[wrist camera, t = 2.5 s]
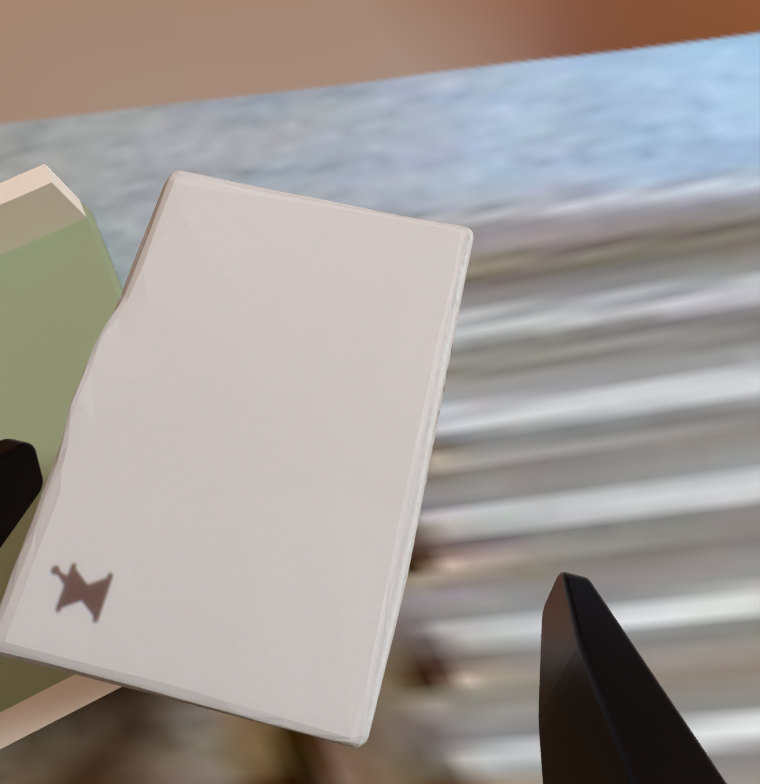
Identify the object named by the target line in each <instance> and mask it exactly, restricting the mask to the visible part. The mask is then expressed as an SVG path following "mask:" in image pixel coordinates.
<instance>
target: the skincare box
mask: <svg viewBox="0 0 760 784" xmlns="http://www.w3.org/2000/svg"><path fill="white" fill-rule="evenodd" d="M472 243H473V232H472V231H471V230H470V229H469V228H467V227H463V226H458V225H452V224H445V223H439V222H433V221H428V220H422V219H417V218H411V217H406V216H401V215H395V214H390V213H384V212H379V211H375V210H370V209H365V208H360V207H356V206H351V205H346V204H341V203H336V202H332V201H327V200H322V199H317V198H312V197H307V196H302V195H297V194H292V193H287V192H282V191H277V190H272V189H267V188H262V187H257V186H252V185H247V184H242V183H238V182H233V181H228V180H223V179H218V178H214V177H209V176H205V175H201V174H196V173H192V172H188V171H182V170H179V171H175V172H174V173H172V174H171V175H170V177H169V178H168V180H167V181H166V183H165V184H164V187H163V189H162V192H161V194H160V197H159V199H158V202H157V205H156V207H155V210H154V212H153V215H152V217H151V220H150V222H149V225H148V227H147V230H146V232H145V235H144V237H143V240H142V242H141V245H140V247H139V250H138V252H137V255H136V257H135V260H134V263H133V265H132V268H131V270H130V273H129V275H128V278H127V281H126V283H125V286H124V289H123V291H122V294H121V297H120V299H119V301H118V304H117V306H116V308H115V310H114V312H113V313H112V315H111V317H110V319H109V320H108V322H107V323H106V325H105V326H104V328H103V330H102V332H101V333H100V335H99V337H98V339H97V341H96V343H95V345H94V347H93V350H92V352H91V355H90V357H89V359H88V362H87V365H86V367H85V369H84V371H83V374H82V376H81V378H80V380H79V383H78V385H77V388H76V390H75V393H74V396H73V398H72V401H71V404H70V407H69V410H68V414H67V419H66V425H65V430H64V434H63V438H62V441H61V445H60V448H59V451H58V454H57V456H56V459H55V461H54V464H53V467H52V469H51V472H50V474H49V477H48V479H47V482H46V484H45V487H44V489H43V492H42V495H41V498H40V501H39V504H38V507H37V510H36V512H35V515H34V518H33V521H32V523H31V525H30V528H29V530H28V533H27V535H26V538H25V540H24V543H23V545H22V548H21V550H20V553H19V556H18V558H17V561H16V563H15V566H14V568H13V571H12V574H11V576H10V579H9V582H8V584H7V587H6V589H5V592H4V595H3V597H2V600H1V603H0V656H2V657H6V658H10V659H14V660H19V661H23V662H27V663H31V664H35V665H39V666H43V667H47V668H51V669H55V670H59V671H63V672H67V673H71V674H75V675H79V676H83V677H87V678H91V679H95V680H99V681H103V682H106V683H110V684H114V685H118V686H122V687H126V688H130V689H134V690H138V691H141V692H145V693H149V694H153V695H157V696H161V697H165V698H169V699H173V700H176V701H180V702H184V703H188V704H192V705H196V706H199V707H203V708H207V709H211V710H215V711H219V712H222V713H226V714H230V715H234V716H238V717H241V718H245V719H249V720H253V721H257V722H261V723H264V724H268V725H272V726H276V727H279V728H283V729H287V730H291V731H294V732H298V733H302V734H306V735H309V736H313V737H317V738H320V739H324V740H328V741H332V742H335V743H339V744H344V745H348V746H352V747H359V746H361V745H362V744H364V743H366V741H367V739H368V737H369V733H370V729H371V725H372V721H373V717H374V712H375V708H376V704H377V700H378V696H379V692H380V688H381V684H382V680H383V676H384V671H385V667H386V663H387V659H388V655H389V651H390V647H391V643H392V639H393V635H394V631H395V626H396V622H397V618H398V614H399V609H400V605H401V601H402V597H403V592H404V588H405V584H406V580H407V576H408V570H409V565H410V560H411V555H412V550H413V546H414V540H415V534H416V529H417V525H418V521H419V516H420V509H421V504H422V499H423V494H424V490H425V485H426V480H427V475H428V469H429V464H430V459H431V454H432V449H433V444H434V439H435V434H436V429H437V424H438V418H439V413H440V408H441V403H442V397H443V392H444V388H445V382H446V377H447V372H448V367H449V361H450V356H451V350H452V345H453V340H454V335H455V329H456V324H457V319H458V314H459V308H460V303H461V298H462V293H463V287H464V282H465V277H466V272H467V267H468V263H469V258H470V253H471V249H472Z"/></svg>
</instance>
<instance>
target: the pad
mask: <svg viewBox="0 0 760 784" xmlns="http://www.w3.org/2000/svg"><path fill="white" fill-rule="evenodd" d="M122 291H123V290H122V287H121V285H120V282H119V280H118V277H117V275H116V272H115V270H114V267H113V265H112V262H111V260H110V257H109V255H108V252H107V250H106V247H105V244H104V242H103V239H102V237H101V234H100V232H99V229H98V227H97V224H96V222H95V219H94V217H93V214H92V212H91V211H90V210H89V209H88V208H87V207H86V206H85V205H84V204H83V203H82V202H81V201H80V200H79V199H78V198H77V197H76V196H75V195H74V194H73V193H72V192H71V191H70V190H69V188H68V187H67V186H66V185H65V184H64V183H63V182H62V181H61V180H60V179H59V178H58V177H57V176H56V175H55V174H54V173H53V172H52V171H51V170H50V169H49V168H48V167H47V166H46V165H45V164H44V165H41V166H39V167H37V168H34V169H32V170H30V171H27V172H25V173H23V174H20V175H18V176H16V177H13V178H11V179H9V180H6V181H4V182H2V183H0V440H3V439H15V440H20V441H24V442H28V443H30V444H32V445H33V446H34V448H35V450H36V453H37V457H38V461H39V465H40V469H41V473H42V477H43V485H42V488H41V491H40V493H39V494H38V496H37V497H36V499H35V500H34V501H33V503H32V504H31V506H30V507H29V509H28V510H27V511H26V513H25V514H24V516H23V517H22V518H21V520H20V521H19V523H18V524H17V525H16V527H15V528H14V530H13V531H12V532H11V534H10V535H9V537H8V538H7V540H6V541H5V542H4V544H3V545H2V547H1V548H0V603H1V600H2V597H3V595H4V592H5V589H6V587H7V584H8V582H9V579H10V576H11V574H12V571H13V568H14V566H15V563H16V561H17V558H18V556H19V553H20V550H21V548H22V545H23V543H24V540H25V538H26V535H27V533H28V530H29V528H30V525H31V523H32V521H33V518H34V515H35V512H36V510H37V507H38V504H39V501H40V498H41V495H42V492H43V489H44V487H45V484H46V482H47V479H48V477H49V474H50V472H51V469H52V467H53V464H54V461H55V459H56V456H57V454H58V451H59V448H60V445H61V441H62V438H63V434H64V430H65V425H66V419H67V414H68V410H69V407H70V404H71V401H72V398H73V396H74V393H75V390H76V388H77V385H78V383H79V380H80V378H81V376H82V374H83V371H84V369H85V367H86V365H87V362H88V359H89V357H90V355H91V352H92V350H93V347H94V345H95V343H96V341H97V339H98V337H99V335H100V333H101V332H102V330H103V328H104V326H105V325H106V323H107V322H108V320H109V319H110V317H111V315H112V313H113V312H114V310H115V308H116V306H117V304H118V301H119V299H120V297H121V294H122ZM120 687H122V686H118V685H114V684H110V683H106V682H103V681H99V680H95V679H91V678H87V677H83V676H79V675H75V674H71V673H67V672H63V671H59V670H55V669H51V668H47V667H43V666H39V665H35V664H31V663H27V662H23V661H19V660H14V659H10V658H6V657H2V656H0V749H2V748H3V747H5V746H7V745H9V744H11V743H13V742H15V741H17V740H19V739H21V738H23V737H25V736H27V735H29V734H31V733H33V732H35V731H37V730H39V729H40V728H42V727H44V726H46V725H48V724H50V723H52V722H54V721H56V720H58V719H60V718H62V717H64V716H66V715H68V714H70V713H72V712H74V711H76V710H78V709H79V708H81V707H83V706H85V705H87V704H89V703H91V702H93V701H95V700H97V699H99V698H101V697H103V696H105V695H107V694H109V693H111V692H113V691H115V690H116V689H118V688H120Z"/></svg>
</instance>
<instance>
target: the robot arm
mask: <svg viewBox="0 0 760 784" xmlns="http://www.w3.org/2000/svg"><path fill="white" fill-rule="evenodd" d="M42 485H43V477H42V473H41V469H40V465H39V461H38V457H37V453H36V450H35V448H34V446H33V445H32V444H30V443H28V442H24V441H20V440H15V439H3V440H0V548H1V547H2V545H3V544H4V542H5V541H6V540H7V538H8V537H9V535H10V534H11V532H12V531H13V530H14V528H15V527H16V525H17V524H18V523H19V521H20V520H21V518H22V517H23V516H24V514H25V513H26V511H27V510H28V509H29V507H30V506H31V504H32V503H33V501H34V500H35V499H36V497H37V496H38V494H39V493H40V491H41V488H42ZM539 735H540V749H541V763H542V776H543V784H727V783H726V782H725V780H724V779H723V777H722V776H721V774H720V773H719V772H718V770H717V769H716V767H715V766H714V764H713V763H712V761H711V760H710V758H709V757H708V755H707V754H706V752H705V751H704V749H703V748H702V746H701V745H700V743H699V742H698V740H697V739H696V737H695V736H694V734H693V733H692V731H691V730H690V728H689V727H688V725H687V724H686V723H685V721H684V720H683V718H682V717H681V715H680V714H679V712H678V711H677V709H676V708H675V706H674V705H673V703H672V702H671V700H670V699H669V697H668V696H667V694H666V693H665V691H664V690H663V688H662V687H661V685H660V684H659V682H658V681H657V679H656V678H655V676H654V675H653V673H652V672H651V671H650V669H649V668H648V666H647V665H646V663H645V662H644V660H643V659H642V657H641V656H640V654H639V653H638V651H637V650H636V648H635V647H634V645H633V644H632V642H631V641H630V639H629V638H628V636H627V635H626V633H625V632H624V630H623V629H622V627H621V626H620V624H619V623H618V622H617V620H616V619H615V617H614V616H613V614H612V613H611V611H610V610H609V608H608V607H607V605H606V604H605V602H604V601H603V599H602V598H601V596H600V595H599V593H598V592H597V590H596V589H595V587H594V586H593V584H592V583H591V582H590V581H589V580H588V579H587V578H585V577H582V576H578V575H574V574H570V573H566V572H563V573H560V574H559V576H558V577H557V579H556V581H555V583H554V586H553V588H552V590H551V592H550V594H549V597H548V599H547V601H546V603H545V606H544V610H543V616H542V634H541V660H540V687H539Z"/></svg>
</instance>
